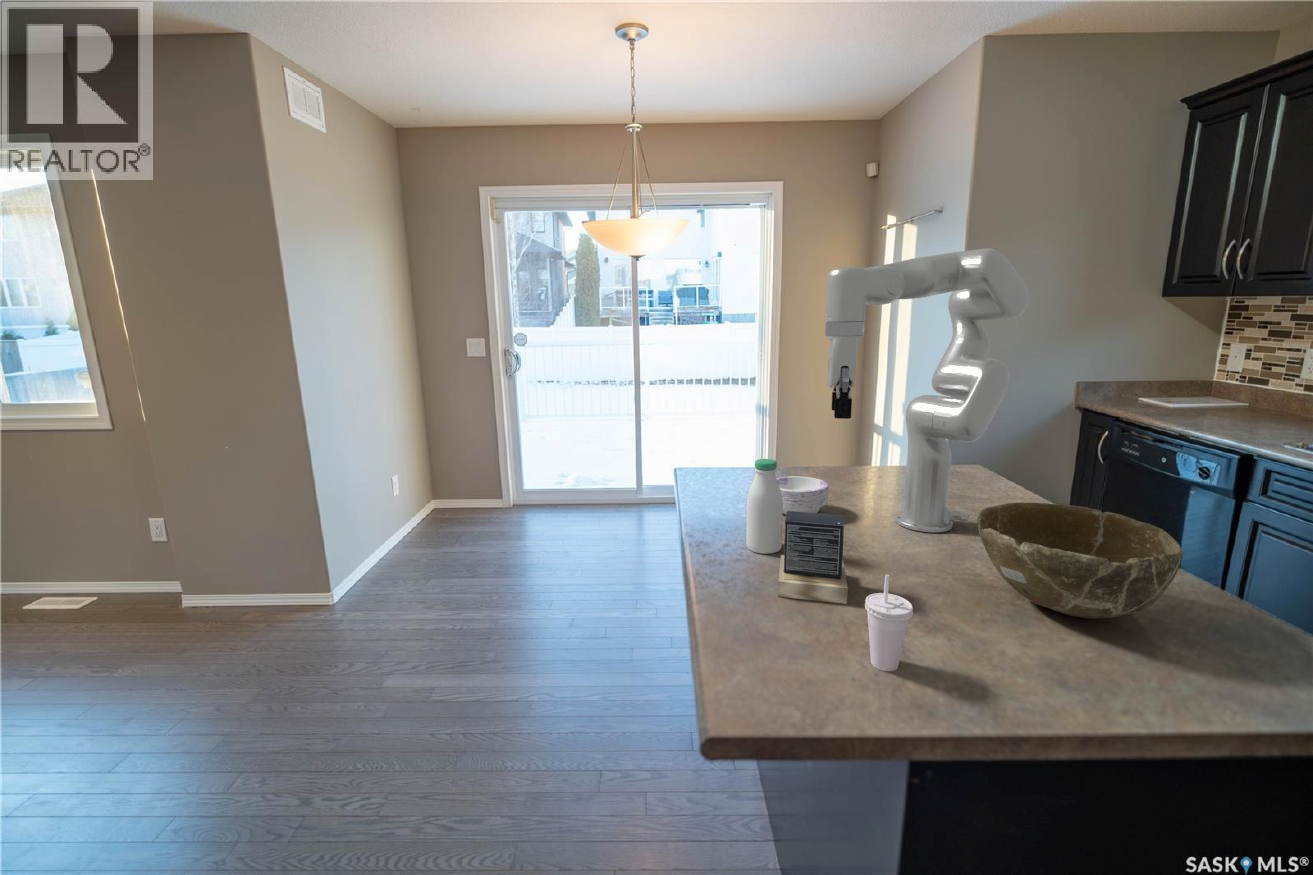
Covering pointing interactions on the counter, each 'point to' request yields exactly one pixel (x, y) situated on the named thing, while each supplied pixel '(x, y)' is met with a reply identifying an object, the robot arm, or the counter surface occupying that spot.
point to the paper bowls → (803, 493)
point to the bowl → (1079, 557)
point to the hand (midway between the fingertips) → (840, 414)
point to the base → (812, 586)
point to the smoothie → (887, 627)
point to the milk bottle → (764, 510)
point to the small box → (814, 544)
